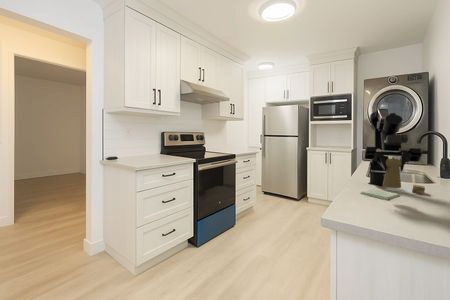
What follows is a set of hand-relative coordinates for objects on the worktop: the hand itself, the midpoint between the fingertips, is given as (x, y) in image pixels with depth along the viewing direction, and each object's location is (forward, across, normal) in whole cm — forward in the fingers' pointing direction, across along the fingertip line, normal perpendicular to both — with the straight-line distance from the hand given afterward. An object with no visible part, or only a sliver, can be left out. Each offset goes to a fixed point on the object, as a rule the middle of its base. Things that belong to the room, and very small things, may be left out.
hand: (393, 170), depth 89 cm
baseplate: (+2, -2, +16) cm, 16 cm away
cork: (+4, 0, +6) cm, 7 cm away
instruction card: (-8, +8, +27) cm, 29 cm away
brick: (-6, +14, +25) cm, 29 cm away
